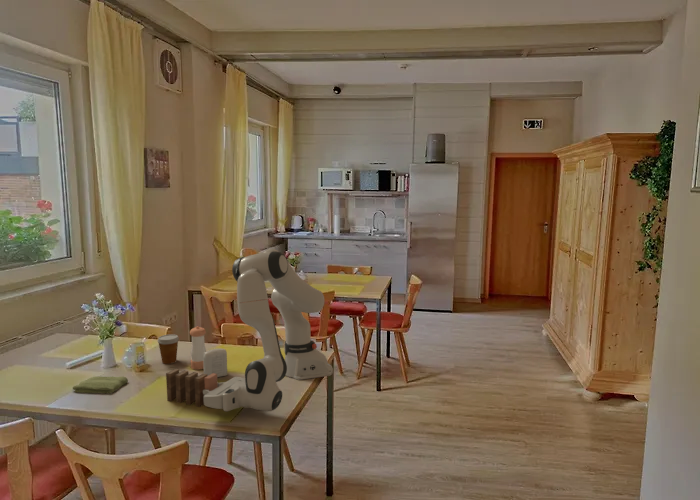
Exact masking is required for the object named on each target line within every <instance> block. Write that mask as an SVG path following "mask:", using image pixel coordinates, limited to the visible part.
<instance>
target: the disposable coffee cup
mask: <svg viewBox="0 0 700 500" xmlns="http://www.w3.org/2000/svg"><path fill="white" fill-rule="evenodd" d="M179 339H180V338H179V336H178V335H177V334H174V333H173V334H171V333H170V334H164V335H161V336H158V339H157V343H158V347H159V353H160V358H161V362H162V364H165V365H169V364H170V365H171V364H174V363H176V362H177V359H178V358H177V357H178V345H179Z"/></svg>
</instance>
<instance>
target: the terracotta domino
mask: <svg viewBox="0 0 700 500" xmlns="http://www.w3.org/2000/svg"><path fill="white" fill-rule="evenodd" d="M204 380H205V389H209V391H212V390H214V389H215V388H217V387H218V383H219V382H218V377H217V374H215V373H212V374H210V375H209V376H207V377H205V378H204ZM217 382H218V383H217Z"/></svg>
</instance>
